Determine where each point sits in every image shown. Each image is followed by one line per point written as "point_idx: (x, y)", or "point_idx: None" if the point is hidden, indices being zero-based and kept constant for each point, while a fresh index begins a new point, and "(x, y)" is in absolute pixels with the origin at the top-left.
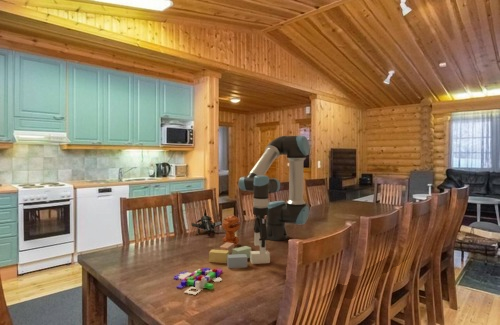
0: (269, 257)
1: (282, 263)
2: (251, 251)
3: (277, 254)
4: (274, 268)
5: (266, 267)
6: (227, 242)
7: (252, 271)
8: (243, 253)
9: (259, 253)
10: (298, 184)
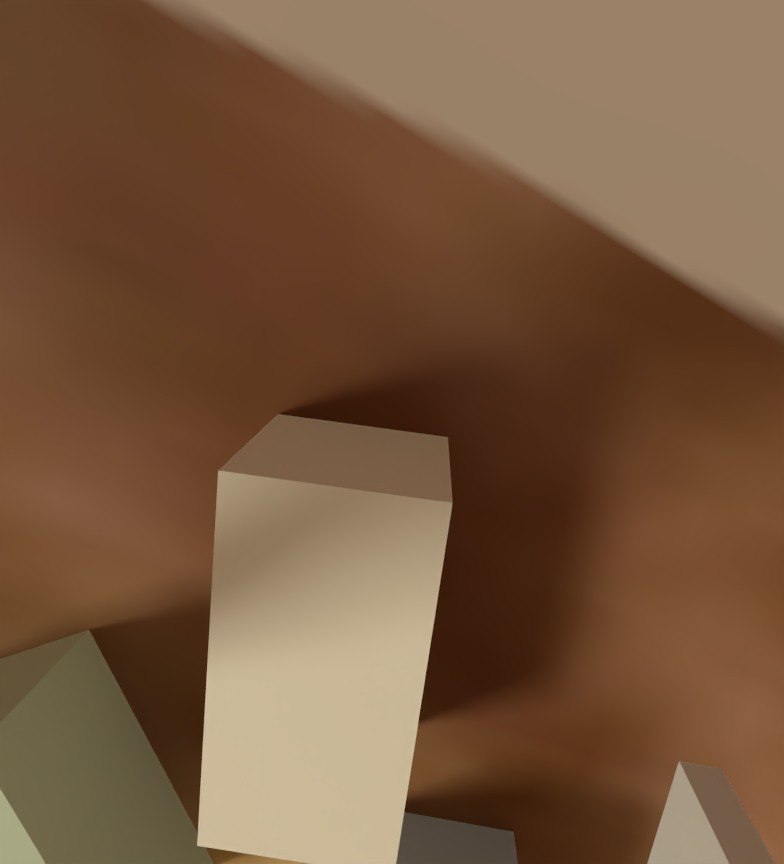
0: (448, 476)
1: (558, 204)
2: (218, 829)
3: (8, 71)
4: (739, 466)
5: (637, 575)
6: None
7: None
8: (119, 858)
9: (397, 731)
10: None
